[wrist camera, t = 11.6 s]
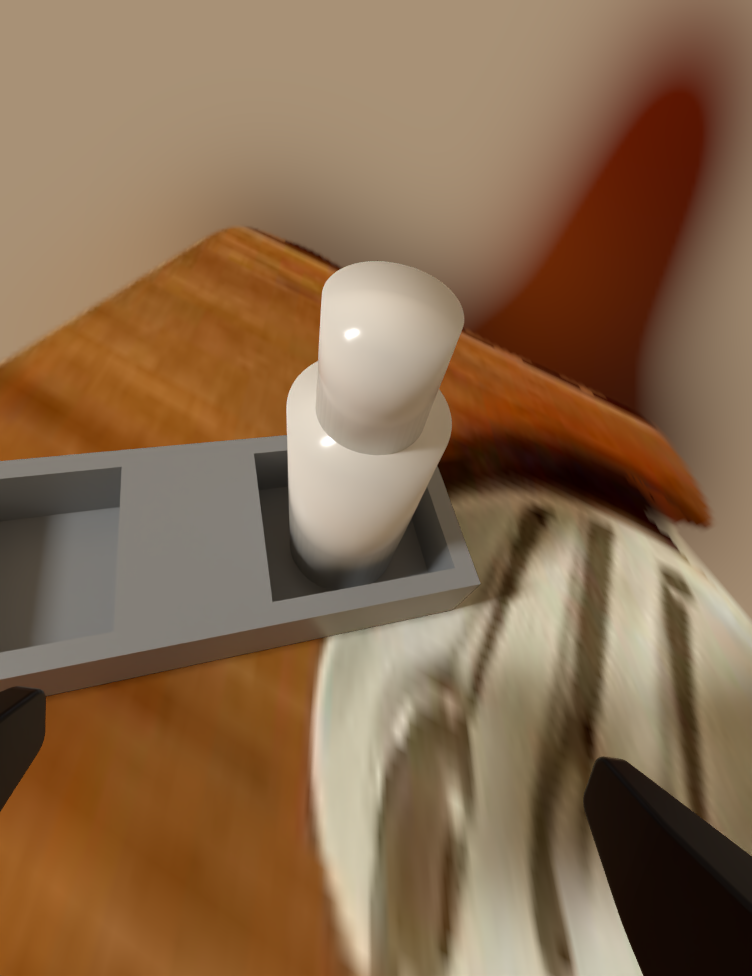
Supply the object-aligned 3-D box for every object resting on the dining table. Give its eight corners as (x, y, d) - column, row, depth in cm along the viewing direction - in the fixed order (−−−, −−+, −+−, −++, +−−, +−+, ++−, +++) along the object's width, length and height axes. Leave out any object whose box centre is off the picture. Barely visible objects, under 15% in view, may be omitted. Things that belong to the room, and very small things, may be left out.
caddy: (452, 610, 20) (480, 583, 17) (-87, 724, 15) (-185, 716, 12) (405, 465, 24) (421, 422, 21) (-37, 516, 19) (-101, 470, 16)
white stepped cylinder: (414, 555, 20) (541, 339, 10) (326, 612, 18) (368, 417, 8) (356, 480, 22) (411, 227, 12) (270, 524, 20) (242, 267, 10)
